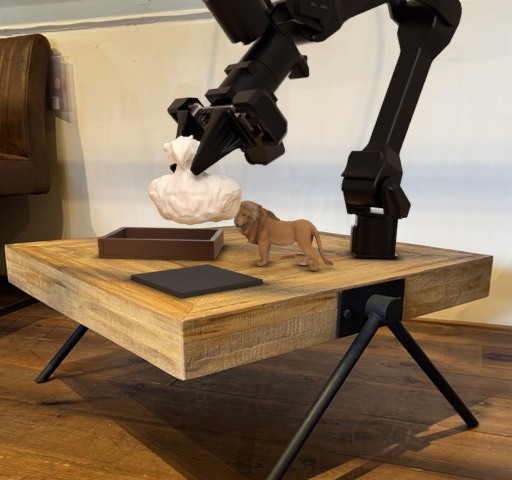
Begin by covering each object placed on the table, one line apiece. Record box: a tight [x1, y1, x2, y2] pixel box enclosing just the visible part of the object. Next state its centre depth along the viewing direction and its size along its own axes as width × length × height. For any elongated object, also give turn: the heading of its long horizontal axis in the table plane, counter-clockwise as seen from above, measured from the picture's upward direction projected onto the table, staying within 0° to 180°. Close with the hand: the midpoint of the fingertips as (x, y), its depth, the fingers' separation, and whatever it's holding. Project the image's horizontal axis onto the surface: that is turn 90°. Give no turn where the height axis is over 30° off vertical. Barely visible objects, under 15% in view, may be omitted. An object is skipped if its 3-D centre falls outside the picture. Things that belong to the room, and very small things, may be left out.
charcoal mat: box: [130, 263, 264, 299], centre depth 72 cm, size 12×12×1 cm
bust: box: [147, 135, 243, 226], centre depth 69 cm, size 12×8×11 cm
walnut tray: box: [97, 226, 225, 261], centre depth 92 cm, size 18×14×3 cm
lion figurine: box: [233, 200, 334, 271], centre depth 81 cm, size 15×5×9 cm, turn 74°
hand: (182, 172), depth 67 cm, fingers closed on bust, 4 cm apart
